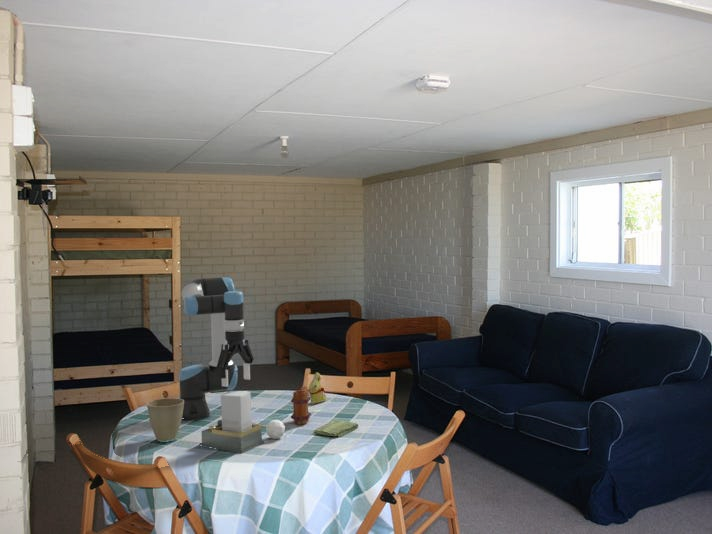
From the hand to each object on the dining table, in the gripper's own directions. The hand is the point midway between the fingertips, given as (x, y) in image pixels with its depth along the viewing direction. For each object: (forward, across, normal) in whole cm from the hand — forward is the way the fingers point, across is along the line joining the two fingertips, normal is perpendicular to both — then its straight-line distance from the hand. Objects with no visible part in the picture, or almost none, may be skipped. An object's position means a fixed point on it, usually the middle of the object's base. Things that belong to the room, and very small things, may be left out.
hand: (236, 382), depth 274 cm
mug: (+25, +38, -6) cm, 46 cm away
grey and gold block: (+25, -2, +1) cm, 25 cm away
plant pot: (+25, -9, +30) cm, 40 cm away
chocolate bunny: (+26, +70, +7) cm, 75 cm away
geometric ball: (+25, +12, -10) cm, 29 cm away
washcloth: (+26, +32, -27) cm, 49 cm away
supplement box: (+19, -2, -2) cm, 19 cm away
